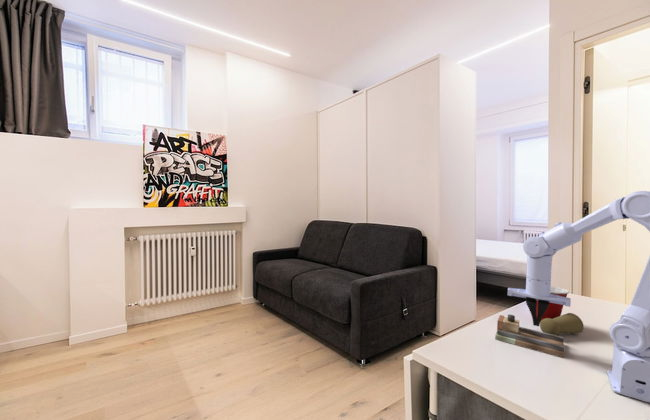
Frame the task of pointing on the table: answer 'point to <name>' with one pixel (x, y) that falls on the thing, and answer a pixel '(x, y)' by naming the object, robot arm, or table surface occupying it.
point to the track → (532, 339)
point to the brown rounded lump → (562, 324)
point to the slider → (510, 324)
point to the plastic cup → (554, 304)
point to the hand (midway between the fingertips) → (536, 324)
